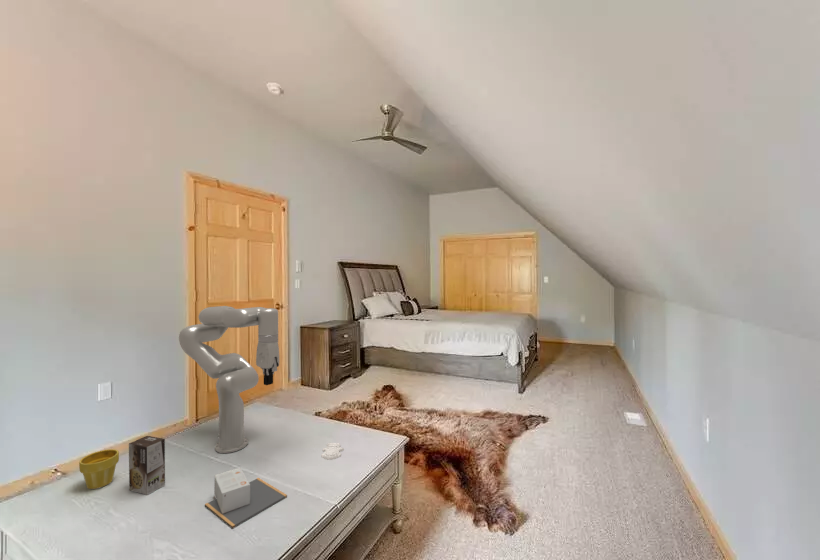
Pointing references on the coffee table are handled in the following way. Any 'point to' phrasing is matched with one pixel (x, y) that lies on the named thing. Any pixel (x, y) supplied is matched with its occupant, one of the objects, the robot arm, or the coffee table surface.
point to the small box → (231, 490)
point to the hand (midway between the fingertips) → (268, 384)
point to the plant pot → (99, 468)
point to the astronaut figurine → (332, 451)
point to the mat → (259, 501)
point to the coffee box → (146, 464)
